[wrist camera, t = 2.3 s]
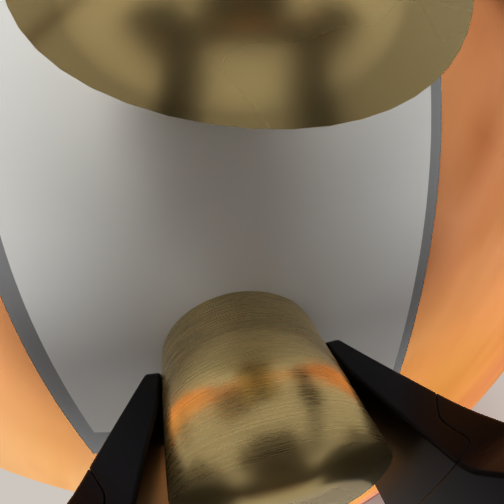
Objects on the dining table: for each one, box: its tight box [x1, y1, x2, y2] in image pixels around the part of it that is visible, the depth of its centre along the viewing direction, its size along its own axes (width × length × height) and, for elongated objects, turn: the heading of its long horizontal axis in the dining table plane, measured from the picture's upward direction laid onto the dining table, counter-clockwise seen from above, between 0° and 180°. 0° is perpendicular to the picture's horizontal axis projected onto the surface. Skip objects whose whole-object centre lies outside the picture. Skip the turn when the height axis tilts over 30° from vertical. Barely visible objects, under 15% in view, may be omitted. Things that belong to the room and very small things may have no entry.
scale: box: [0, 0, 441, 453], centre depth 9 cm, size 15×19×4 cm
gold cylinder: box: [162, 291, 393, 504], centre depth 7 cm, size 4×4×4 cm
